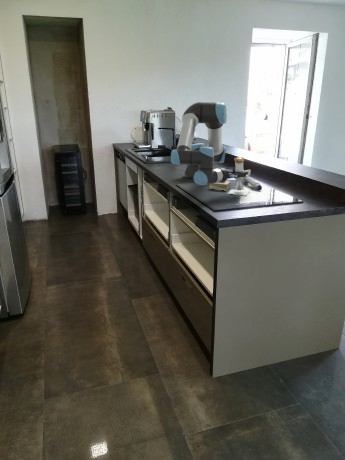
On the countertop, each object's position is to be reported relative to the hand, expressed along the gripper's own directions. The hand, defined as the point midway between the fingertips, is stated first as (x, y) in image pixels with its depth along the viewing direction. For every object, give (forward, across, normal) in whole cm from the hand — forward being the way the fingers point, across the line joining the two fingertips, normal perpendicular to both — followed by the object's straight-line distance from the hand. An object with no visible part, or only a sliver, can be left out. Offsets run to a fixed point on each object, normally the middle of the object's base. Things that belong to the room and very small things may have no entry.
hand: (246, 171), depth 202 cm
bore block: (-5, -15, -12) cm, 20 cm away
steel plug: (-5, 0, -10) cm, 11 cm away
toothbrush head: (+15, -8, -13) cm, 21 cm away
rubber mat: (-5, 0, -12) cm, 13 cm away
